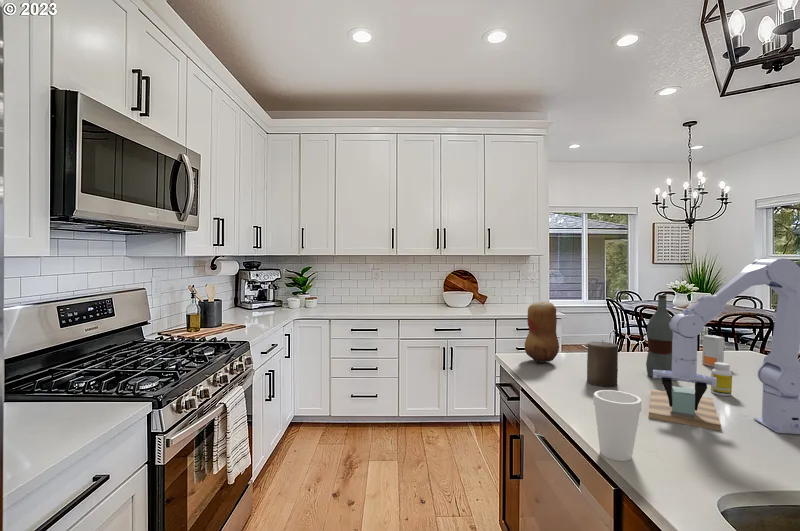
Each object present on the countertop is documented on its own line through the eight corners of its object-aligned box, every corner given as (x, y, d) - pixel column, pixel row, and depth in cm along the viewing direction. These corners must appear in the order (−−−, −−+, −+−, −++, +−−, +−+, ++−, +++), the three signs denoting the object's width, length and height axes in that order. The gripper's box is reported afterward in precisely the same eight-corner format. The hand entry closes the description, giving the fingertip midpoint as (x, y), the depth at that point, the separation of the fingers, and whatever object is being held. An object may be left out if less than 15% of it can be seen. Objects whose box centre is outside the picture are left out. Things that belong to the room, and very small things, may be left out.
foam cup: (599, 441, 104) (600, 387, 103) (643, 453, 98) (644, 395, 97) (587, 455, 96) (588, 397, 96) (634, 469, 90) (635, 407, 90)
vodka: (681, 378, 157) (683, 295, 157) (663, 381, 154) (665, 296, 153) (657, 371, 166) (659, 293, 165) (640, 374, 163) (642, 294, 162)
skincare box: (701, 364, 178) (702, 335, 178) (707, 363, 180) (708, 334, 180) (717, 368, 173) (718, 338, 172) (724, 366, 174) (724, 337, 174)
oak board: (720, 430, 111) (720, 424, 111) (648, 417, 119) (648, 412, 119) (711, 403, 131) (712, 398, 131) (650, 393, 139) (650, 389, 139)
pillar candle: (619, 388, 145) (620, 343, 145) (587, 385, 148) (588, 341, 148) (615, 380, 154) (616, 338, 154) (585, 378, 157) (586, 336, 157)
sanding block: (694, 418, 115) (695, 396, 115) (672, 414, 117) (672, 392, 117) (693, 410, 121) (693, 389, 121) (671, 406, 123) (672, 386, 123)
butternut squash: (518, 359, 184) (519, 300, 183) (545, 357, 188) (546, 299, 187) (538, 367, 171) (539, 304, 170) (566, 365, 175) (567, 303, 174)
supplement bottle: (735, 396, 137) (736, 366, 137) (715, 395, 138) (716, 365, 138) (725, 391, 143) (726, 362, 142) (707, 390, 144) (708, 361, 144)
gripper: (653, 357, 119) (651, 406, 119) (718, 365, 111) (717, 417, 112) (653, 352, 125) (652, 399, 125) (715, 359, 117) (714, 409, 118)
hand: (682, 407), depth 119 cm, fingers closed on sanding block, 5 cm apart
